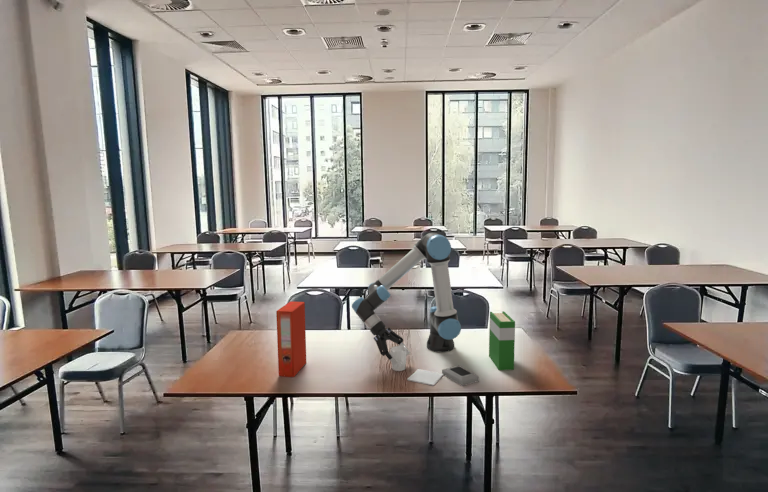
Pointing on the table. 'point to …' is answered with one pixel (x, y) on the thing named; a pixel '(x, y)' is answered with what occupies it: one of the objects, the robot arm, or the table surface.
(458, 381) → the grey box
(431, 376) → the mat
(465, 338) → the table surface
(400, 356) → the white cup
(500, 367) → the hardback book
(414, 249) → the robot arm
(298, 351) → the file binder
